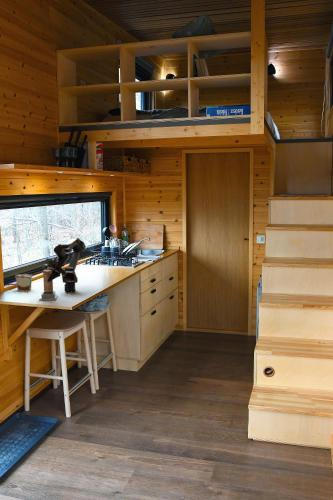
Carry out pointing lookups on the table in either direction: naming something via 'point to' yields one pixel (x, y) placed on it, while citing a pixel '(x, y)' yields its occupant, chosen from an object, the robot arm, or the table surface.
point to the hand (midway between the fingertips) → (46, 281)
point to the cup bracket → (48, 296)
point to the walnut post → (47, 285)
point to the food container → (24, 281)
